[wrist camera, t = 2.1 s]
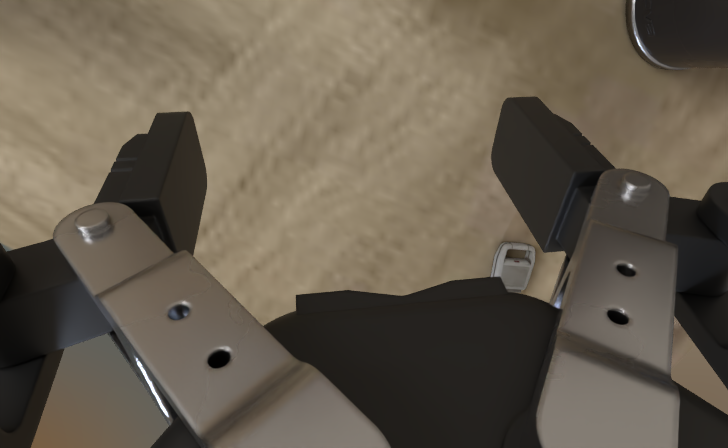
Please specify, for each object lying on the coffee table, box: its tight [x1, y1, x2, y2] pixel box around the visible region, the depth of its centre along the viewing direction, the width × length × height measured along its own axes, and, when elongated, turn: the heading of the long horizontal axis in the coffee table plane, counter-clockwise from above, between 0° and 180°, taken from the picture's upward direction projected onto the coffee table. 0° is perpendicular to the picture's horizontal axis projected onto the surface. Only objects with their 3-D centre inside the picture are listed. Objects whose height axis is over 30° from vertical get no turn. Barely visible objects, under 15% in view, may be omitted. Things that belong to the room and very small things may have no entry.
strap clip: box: [491, 242, 535, 293], centre depth 35 cm, size 8×3×4 cm, turn 171°
